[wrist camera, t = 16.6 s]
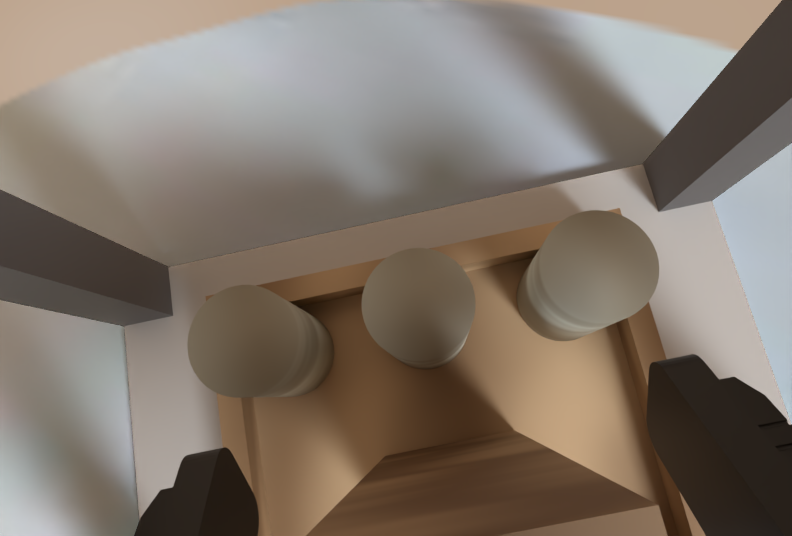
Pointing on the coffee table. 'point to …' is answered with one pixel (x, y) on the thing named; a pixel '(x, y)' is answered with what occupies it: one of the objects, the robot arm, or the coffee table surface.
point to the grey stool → (623, 188)
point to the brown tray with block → (450, 389)
